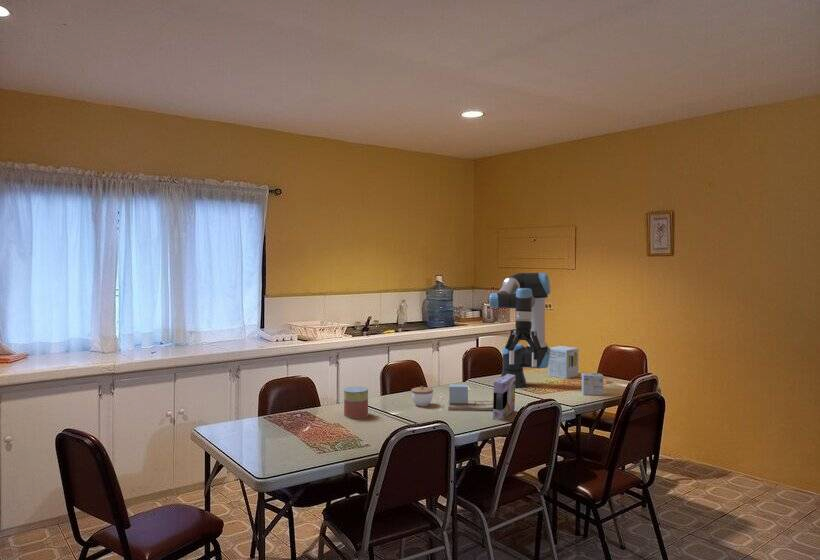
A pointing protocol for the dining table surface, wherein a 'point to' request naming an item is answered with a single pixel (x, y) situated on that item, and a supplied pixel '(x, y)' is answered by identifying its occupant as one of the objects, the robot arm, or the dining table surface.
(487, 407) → the board
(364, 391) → the canned food
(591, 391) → the light bulb box
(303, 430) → the dining table surface
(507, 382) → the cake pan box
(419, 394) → the lidded jar
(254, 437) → the dining table surface
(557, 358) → the supplement box
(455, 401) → the block
